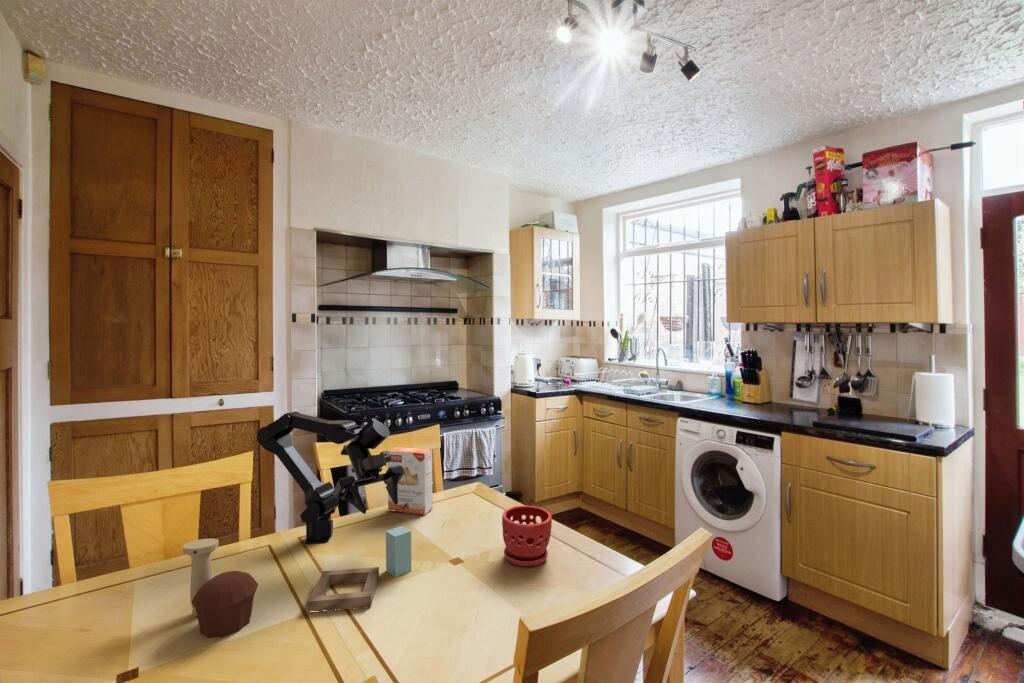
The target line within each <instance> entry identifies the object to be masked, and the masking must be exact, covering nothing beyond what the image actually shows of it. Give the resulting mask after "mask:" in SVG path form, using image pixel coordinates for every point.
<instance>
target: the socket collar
mask: <svg viewBox="0 0 1024 683" xmlns="http://www.w3.org/2000/svg"><path fill="white" fill-rule="evenodd" d="M379 578H380V567H379V566H375V567H362V568H361V567H360V568H349V569H337V570H336V569H335V570H324V571H322V573H321V575H320V577H319V579H318V581H317V583H316V585H315V587H314V589H313V590H312V592H311V594H310V596H309V598H308V600H307V613H308V612H310V611H323V610H335V609H336V610H337V609H349V610H354V609H353V608H360V609H369V607H372V605H373V600H374V597H375V593H376V590H377V586H378V582H379ZM359 582H364V583H365V584H364V587H363V590H362V591H359V592H358V591H357V592H347V593H335V594H333V593H332V594H327V593H328V591H327V590H329V589H330V587H331V586H334V585H333V584H340V585H346V584H345V583H352V584H360V583H359ZM329 586H330V587H329ZM328 588H329V589H328ZM326 592H327V593H326ZM365 607H366V608H365ZM367 607H368V608H367Z"/></svg>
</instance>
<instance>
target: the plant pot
mask: <svg viewBox="0 0 1024 683" xmlns="http://www.w3.org/2000/svg"><path fill="white" fill-rule="evenodd" d="M523 516H525V518H524V519H523V518H522V517H523ZM531 517H532V518H531ZM537 517H539V518H540V520H541V521H540V522H539V523H538V522H537ZM516 521H517V522H516ZM552 523H553V519H552V514H551V513H550V512H549V511H548V510H547V509H544V508H542V507H539V506H535V505H534V506H533V505H517V506H512V507H510V508H509V507H508V509H506V510H504V511H503V512H502V516H501V526H502V538H503V542H504V545H505V547H504V550H503V555H504V557H505V558H506V560H507V561H508V562H509V563H511V564H513V565H515V566H520V567H521V566H522V567H532V566H538V565H540V564H542V563H543V562H545V561H546V559H547V558H548V554H549V553H548V549H547V548H548V547H549V546H548V545H549V543H550V538H551V536H552V535H551V534H552Z"/></svg>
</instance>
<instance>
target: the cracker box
mask: <svg viewBox="0 0 1024 683" xmlns="http://www.w3.org/2000/svg"><path fill="white" fill-rule="evenodd" d="M388 452H389V453H390V456H391V461H390V462H388V463H387V469H388V468H389V467H394V466H398V465H400V466H402V467H403V469H404V471H405V473H404V475H403V476H402V478H401V479H400V481H399V482H398V487H397V491H398V504H397V505H395V504H394V502H393V501H392V499H391V497H390V495H389V493H388V492H387V498H388V500H387V505H388V506H387V507H388V508H387V509H389V510H395V511H399V512H398V513H402V512H405V513H404V514H410V513H413V514H412V515H417V514H421V515H420V516H426V515H427V514H429V513H430V512H431V511H432V510H433V449H427V448H414V447H401V446H396V447H393V448H391V449H389V450H388ZM430 510H431V511H430ZM429 511H430V512H429Z"/></svg>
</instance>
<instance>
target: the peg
mask: <svg viewBox="0 0 1024 683" xmlns="http://www.w3.org/2000/svg"><path fill="white" fill-rule="evenodd" d="M385 563H386V564H385V567H386V568H385V571H386V572H387V573H389V574H390V575H392V576H393V577H394V578H397V577H399V576H402V575H405V574H407V573H409V572H411V571H412V531H411V530H409V529H408V528H406V527H405V526H398V527H395V528H391V529H389V530H386V531H385Z"/></svg>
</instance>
